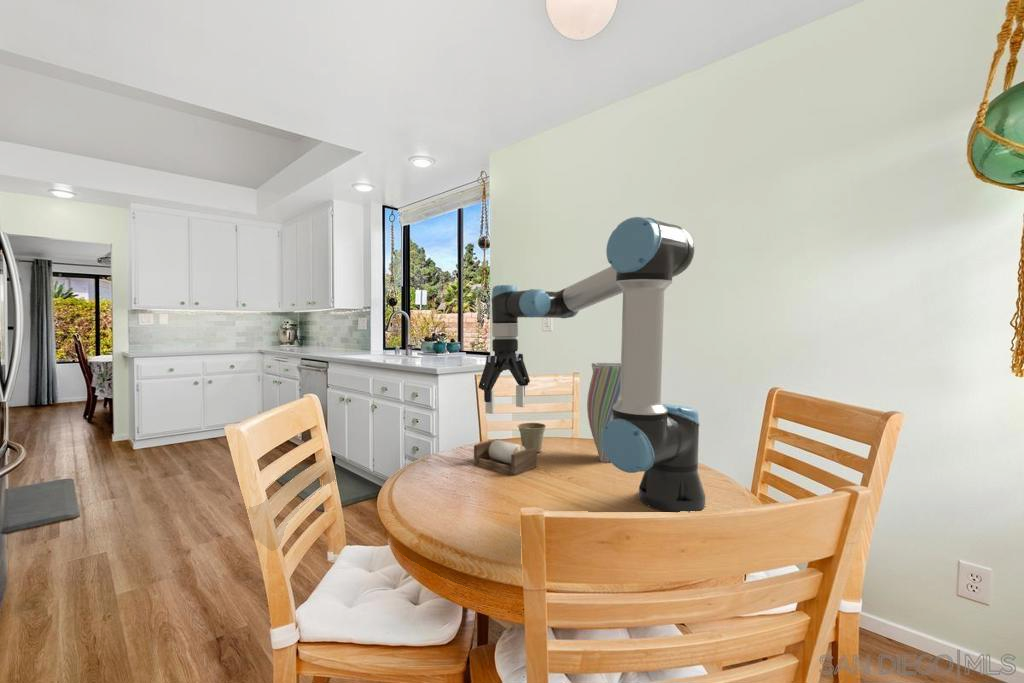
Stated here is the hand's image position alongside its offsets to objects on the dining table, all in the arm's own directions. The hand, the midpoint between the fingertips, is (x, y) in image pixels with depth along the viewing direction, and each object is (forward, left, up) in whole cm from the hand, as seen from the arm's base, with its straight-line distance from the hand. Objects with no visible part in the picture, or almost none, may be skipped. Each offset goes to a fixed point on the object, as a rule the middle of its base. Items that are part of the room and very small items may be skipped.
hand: (505, 410), depth 137 cm
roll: (0, 0, -16) cm, 16 cm away
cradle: (0, 0, -17) cm, 17 cm away
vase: (-20, -26, -17) cm, 37 cm away
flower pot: (+4, -18, -17) cm, 25 cm away
